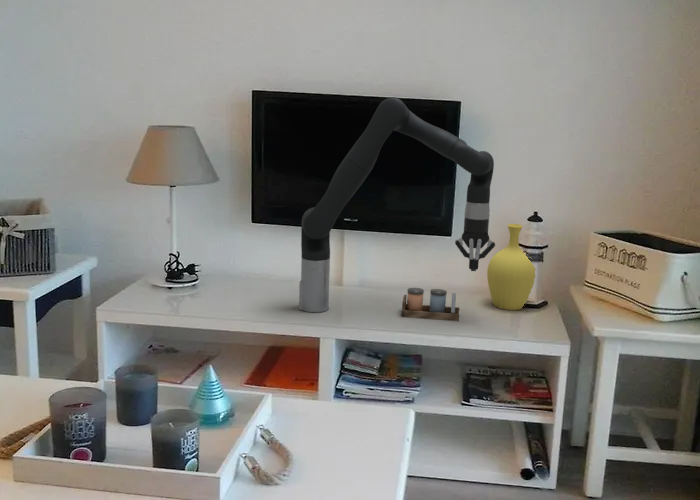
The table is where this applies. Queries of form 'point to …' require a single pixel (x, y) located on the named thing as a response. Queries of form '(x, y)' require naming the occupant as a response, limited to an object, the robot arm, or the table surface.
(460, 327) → the table surface
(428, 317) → the wooden tray
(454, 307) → the paddle
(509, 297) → the vase
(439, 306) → the jar
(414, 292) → the jar
